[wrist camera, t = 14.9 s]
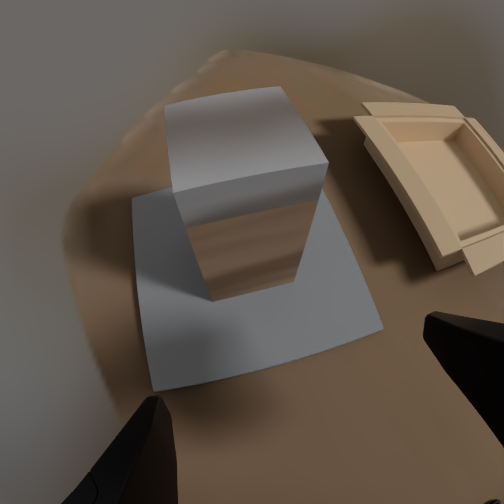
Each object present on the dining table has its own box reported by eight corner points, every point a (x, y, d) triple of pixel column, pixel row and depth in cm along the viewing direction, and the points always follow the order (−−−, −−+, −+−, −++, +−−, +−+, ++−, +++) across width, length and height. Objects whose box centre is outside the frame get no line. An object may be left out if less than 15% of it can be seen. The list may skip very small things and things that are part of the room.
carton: (533, 248, 20) (553, 231, 17) (428, 304, 18) (456, 284, 15) (453, 128, 28) (463, 107, 24) (335, 132, 26) (342, 103, 22)
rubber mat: (380, 331, 17) (383, 328, 16) (156, 391, 15) (153, 391, 15) (306, 165, 23) (307, 160, 23) (134, 202, 22) (131, 197, 21)
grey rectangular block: (293, 281, 18) (328, 162, 9) (212, 302, 17) (173, 192, 9) (270, 215, 20) (280, 86, 11) (197, 231, 20) (164, 105, 11)
